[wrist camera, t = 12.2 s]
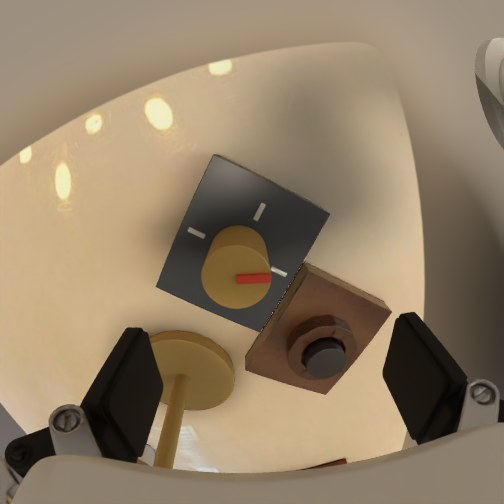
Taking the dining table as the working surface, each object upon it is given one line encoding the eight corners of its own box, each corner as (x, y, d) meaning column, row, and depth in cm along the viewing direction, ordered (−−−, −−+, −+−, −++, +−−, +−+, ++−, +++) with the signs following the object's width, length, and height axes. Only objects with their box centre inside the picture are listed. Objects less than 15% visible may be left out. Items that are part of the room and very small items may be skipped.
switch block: (304, 262, 26) (313, 280, 22) (383, 301, 27) (399, 321, 24) (245, 356, 29) (245, 382, 25) (321, 382, 31) (329, 406, 27)
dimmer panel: (217, 154, 23) (213, 154, 20) (322, 208, 24) (331, 214, 22) (163, 275, 26) (155, 287, 23) (258, 318, 28) (259, 333, 25)
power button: (317, 331, 24) (322, 343, 22) (348, 343, 25) (354, 355, 23) (296, 360, 25) (299, 372, 23) (327, 370, 26) (331, 382, 24)
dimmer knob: (213, 279, 23) (204, 312, 18) (208, 226, 22) (196, 248, 17) (267, 276, 23) (272, 309, 18) (265, 223, 22) (270, 244, 17)
